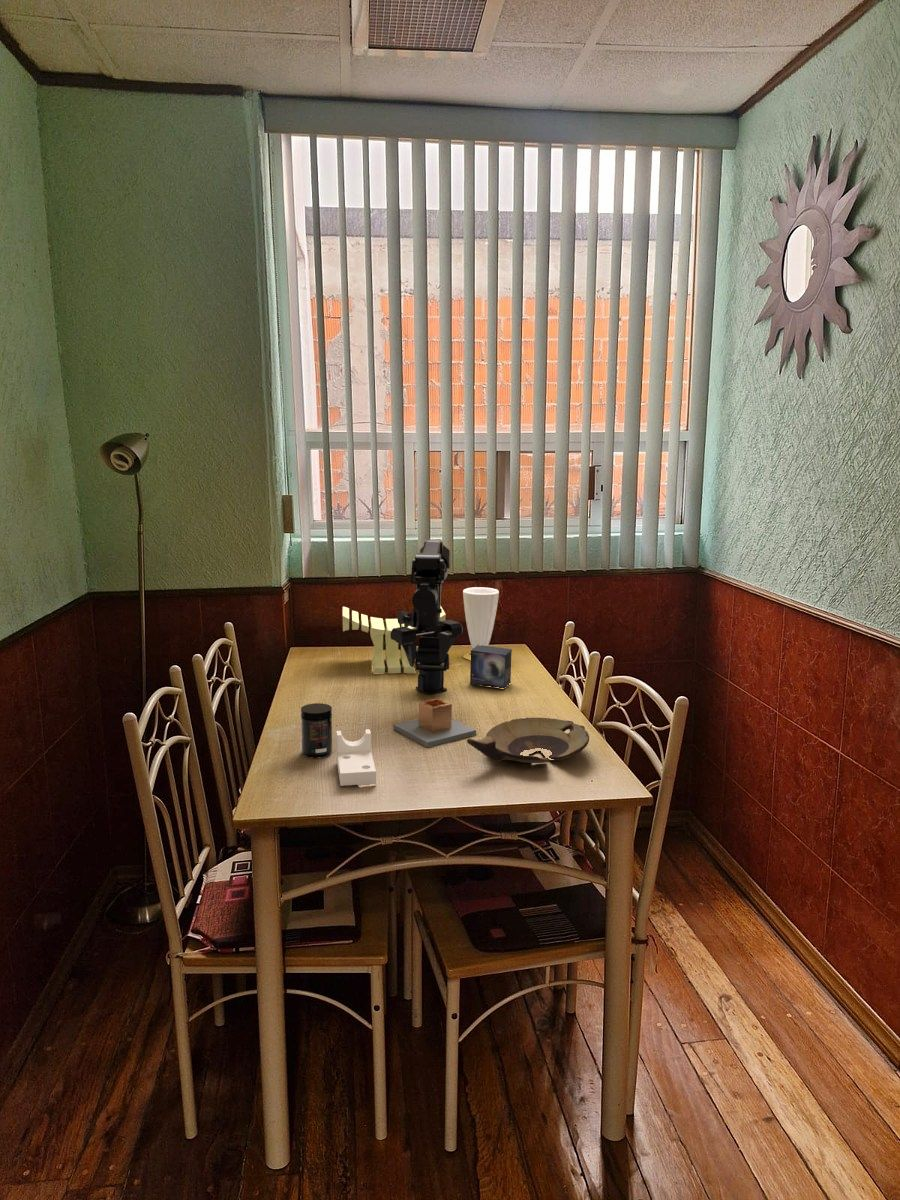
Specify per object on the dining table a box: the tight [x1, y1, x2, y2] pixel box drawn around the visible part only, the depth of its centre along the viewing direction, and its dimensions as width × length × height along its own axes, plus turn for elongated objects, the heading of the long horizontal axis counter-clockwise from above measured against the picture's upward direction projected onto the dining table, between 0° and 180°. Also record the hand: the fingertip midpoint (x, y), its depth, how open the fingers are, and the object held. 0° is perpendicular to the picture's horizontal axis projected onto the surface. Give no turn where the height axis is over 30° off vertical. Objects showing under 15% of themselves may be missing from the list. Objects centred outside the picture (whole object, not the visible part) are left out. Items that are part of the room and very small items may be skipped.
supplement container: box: [300, 702, 333, 759], centre depth 178 cm, size 7×7×10 cm
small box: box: [469, 645, 513, 688], centre depth 229 cm, size 11×6×10 cm, turn 68°
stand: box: [393, 718, 477, 748], centre depth 192 cm, size 14×14×5 cm
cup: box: [462, 586, 500, 655], centre depth 257 cm, size 12×12×22 cm
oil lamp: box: [466, 717, 590, 764], centre depth 178 cm, size 22×30×8 cm
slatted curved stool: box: [342, 606, 447, 674], centre depth 245 cm, size 30×16×18 cm, turn 97°
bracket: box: [335, 728, 377, 787], centre depth 167 cm, size 13×7×8 cm, turn 11°
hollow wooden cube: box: [418, 697, 453, 733], centre depth 192 cm, size 6×6×6 cm
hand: (426, 663), depth 207 cm, fingers open, 9 cm apart
